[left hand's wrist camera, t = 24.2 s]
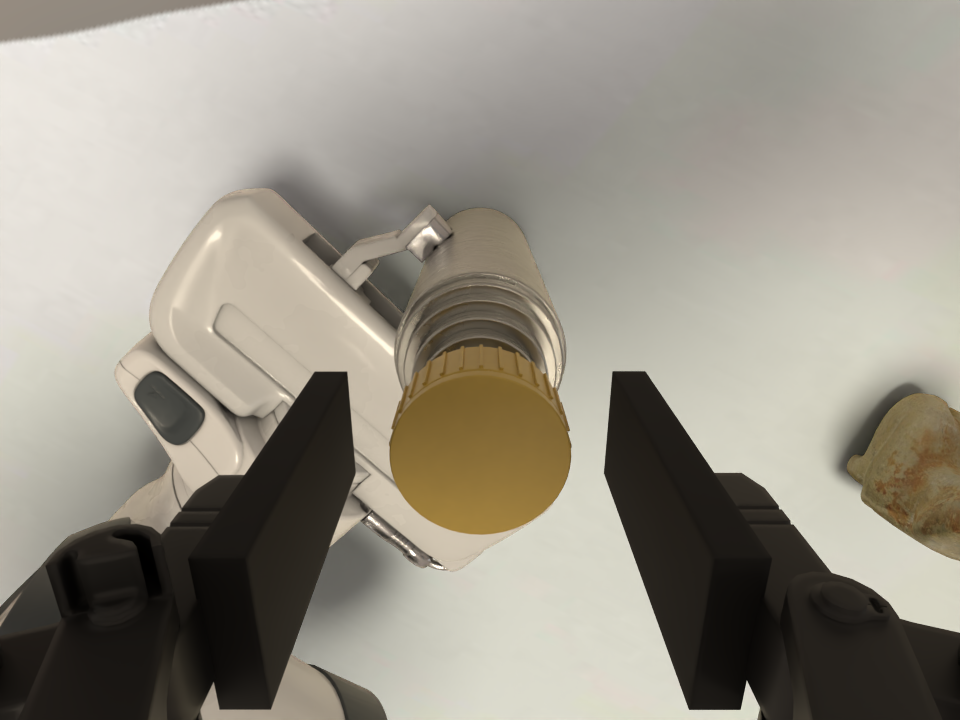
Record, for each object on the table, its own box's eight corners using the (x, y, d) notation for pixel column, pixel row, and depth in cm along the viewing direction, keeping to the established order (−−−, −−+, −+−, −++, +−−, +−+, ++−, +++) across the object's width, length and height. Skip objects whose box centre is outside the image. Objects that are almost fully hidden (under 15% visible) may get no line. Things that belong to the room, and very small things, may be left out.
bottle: (411, 262, 33) (315, 450, 14) (474, 186, 32) (466, 276, 12) (484, 323, 34) (491, 573, 15) (548, 252, 33) (647, 428, 14)
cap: (414, 501, 15) (406, 548, 14) (381, 356, 14) (368, 388, 12) (570, 481, 15) (582, 525, 14) (552, 331, 14) (563, 360, 12)
